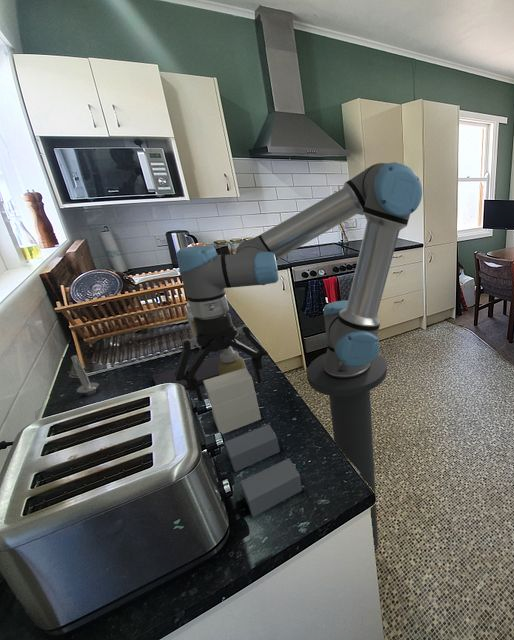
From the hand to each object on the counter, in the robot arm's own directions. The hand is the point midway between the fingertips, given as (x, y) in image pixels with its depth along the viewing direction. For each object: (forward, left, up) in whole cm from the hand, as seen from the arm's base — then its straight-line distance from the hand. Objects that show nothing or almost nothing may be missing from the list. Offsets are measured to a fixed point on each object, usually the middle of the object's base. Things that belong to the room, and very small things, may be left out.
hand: (230, 389), depth 89 cm
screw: (+31, -40, -10) cm, 52 cm away
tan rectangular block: (0, 0, -1) cm, 1 cm away
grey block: (0, +15, -10) cm, 18 cm away
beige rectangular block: (0, 0, -10) cm, 10 cm away
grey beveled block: (0, +29, -10) cm, 31 cm away
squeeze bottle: (-3, -12, -10) cm, 16 cm away
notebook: (+5, -32, -10) cm, 34 cm away
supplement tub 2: (-4, -54, -10) cm, 55 cm away
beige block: (0, 0, -6) cm, 6 cm away
